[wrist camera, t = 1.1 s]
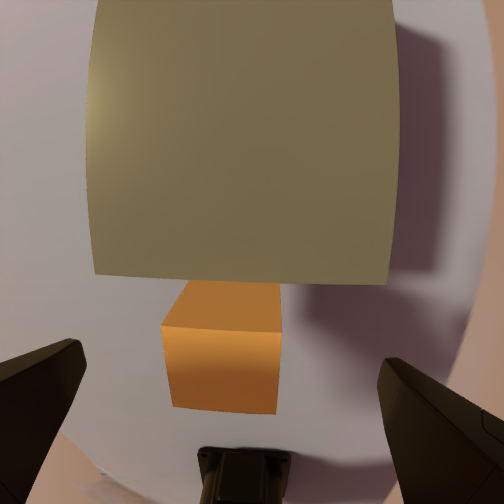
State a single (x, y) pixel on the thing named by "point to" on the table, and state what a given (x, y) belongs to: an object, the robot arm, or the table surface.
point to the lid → (241, 169)
